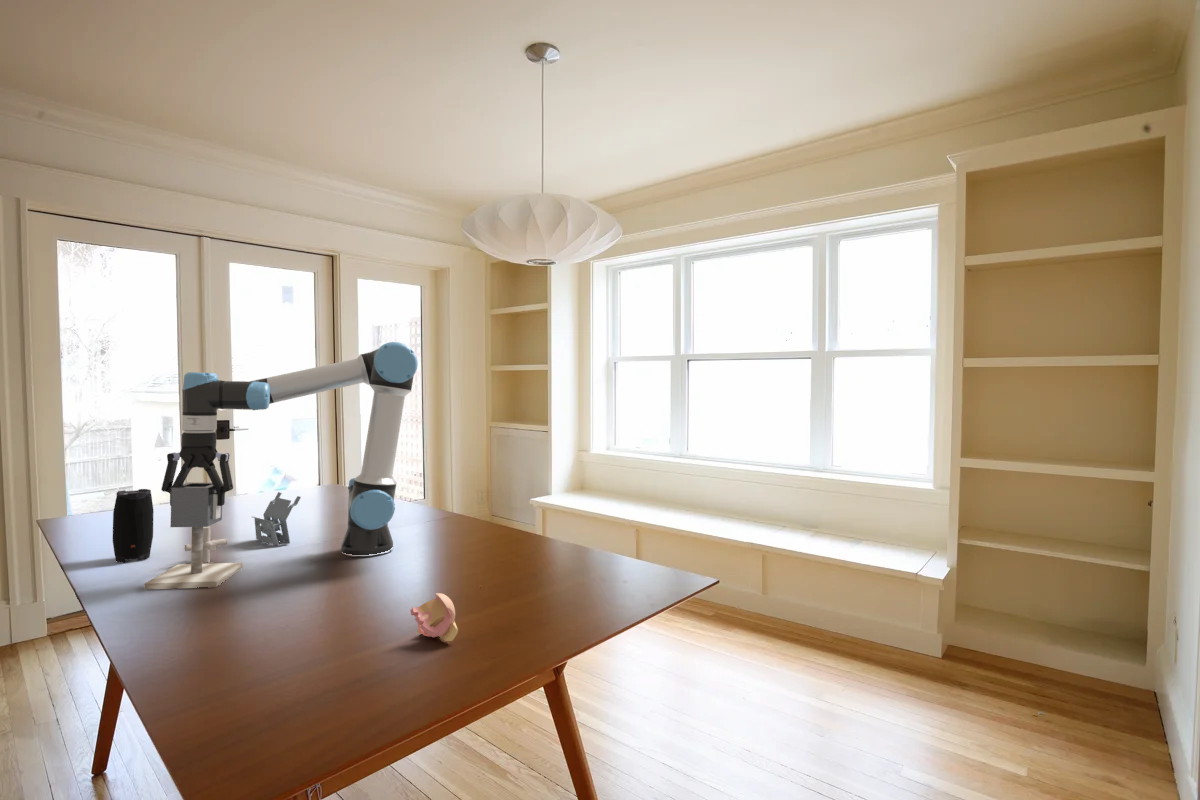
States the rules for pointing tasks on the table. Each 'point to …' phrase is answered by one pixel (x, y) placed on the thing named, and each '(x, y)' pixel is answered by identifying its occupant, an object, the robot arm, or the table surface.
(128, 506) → the portable speaker
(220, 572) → the keeper board
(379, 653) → the table surface
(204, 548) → the wooden peg rack
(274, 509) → the bracket
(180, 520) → the gray open tub
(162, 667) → the table surface
